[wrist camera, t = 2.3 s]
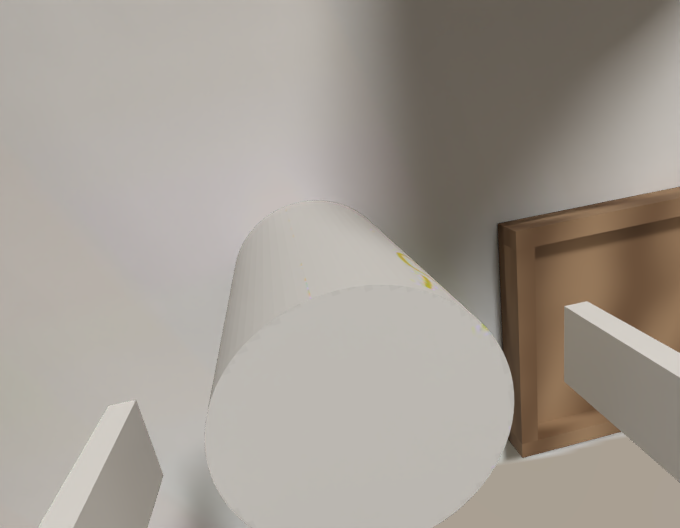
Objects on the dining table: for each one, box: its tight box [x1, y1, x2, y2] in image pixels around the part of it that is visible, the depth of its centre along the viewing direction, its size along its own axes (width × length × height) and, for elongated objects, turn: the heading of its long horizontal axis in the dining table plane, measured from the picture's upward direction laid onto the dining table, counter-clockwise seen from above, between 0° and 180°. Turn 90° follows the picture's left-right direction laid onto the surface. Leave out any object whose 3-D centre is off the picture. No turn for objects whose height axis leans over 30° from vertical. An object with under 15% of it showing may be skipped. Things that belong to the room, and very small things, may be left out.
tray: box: [498, 187, 680, 458], centre depth 26 cm, size 14×14×2 cm
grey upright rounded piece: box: [204, 200, 514, 528], centre depth 17 cm, size 8×8×12 cm
